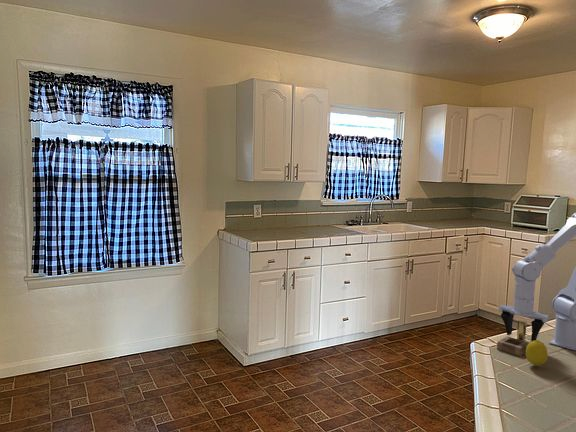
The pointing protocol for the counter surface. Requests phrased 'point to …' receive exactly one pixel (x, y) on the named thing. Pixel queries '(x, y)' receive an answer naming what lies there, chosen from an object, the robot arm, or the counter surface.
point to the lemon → (536, 353)
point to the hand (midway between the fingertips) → (521, 337)
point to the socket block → (512, 345)
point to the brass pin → (521, 330)
